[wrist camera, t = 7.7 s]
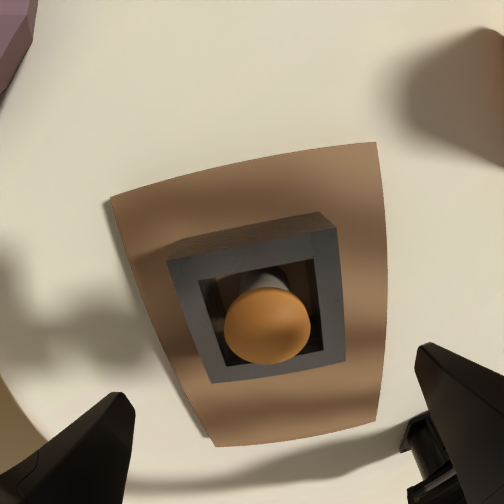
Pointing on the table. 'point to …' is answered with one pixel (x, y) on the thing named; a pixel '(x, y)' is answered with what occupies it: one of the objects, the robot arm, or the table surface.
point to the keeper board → (254, 204)
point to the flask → (15, 35)
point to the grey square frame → (251, 258)
